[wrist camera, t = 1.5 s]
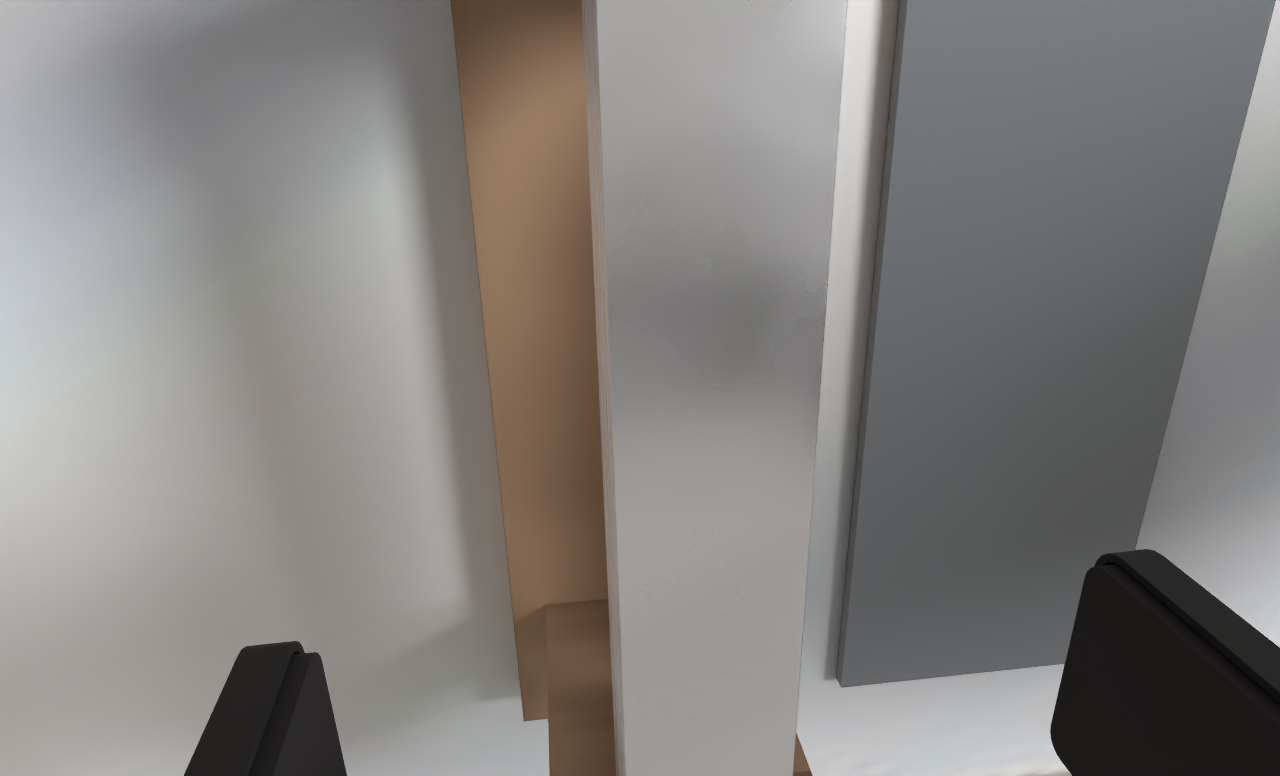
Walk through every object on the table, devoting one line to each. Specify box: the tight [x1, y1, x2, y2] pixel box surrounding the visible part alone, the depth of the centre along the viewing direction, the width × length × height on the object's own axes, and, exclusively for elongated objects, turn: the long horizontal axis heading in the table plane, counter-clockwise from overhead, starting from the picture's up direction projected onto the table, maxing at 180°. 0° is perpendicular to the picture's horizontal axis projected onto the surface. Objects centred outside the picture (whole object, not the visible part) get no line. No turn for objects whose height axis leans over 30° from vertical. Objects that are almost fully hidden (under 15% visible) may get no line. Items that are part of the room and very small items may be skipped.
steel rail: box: [582, 0, 848, 776], centre depth 14 cm, size 3×24×3 cm, turn 1°
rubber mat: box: [836, 0, 1276, 687], centre depth 24 cm, size 10×28×1 cm, turn 1°
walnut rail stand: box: [451, 0, 812, 776], centre depth 18 cm, size 8×26×11 cm, turn 1°
